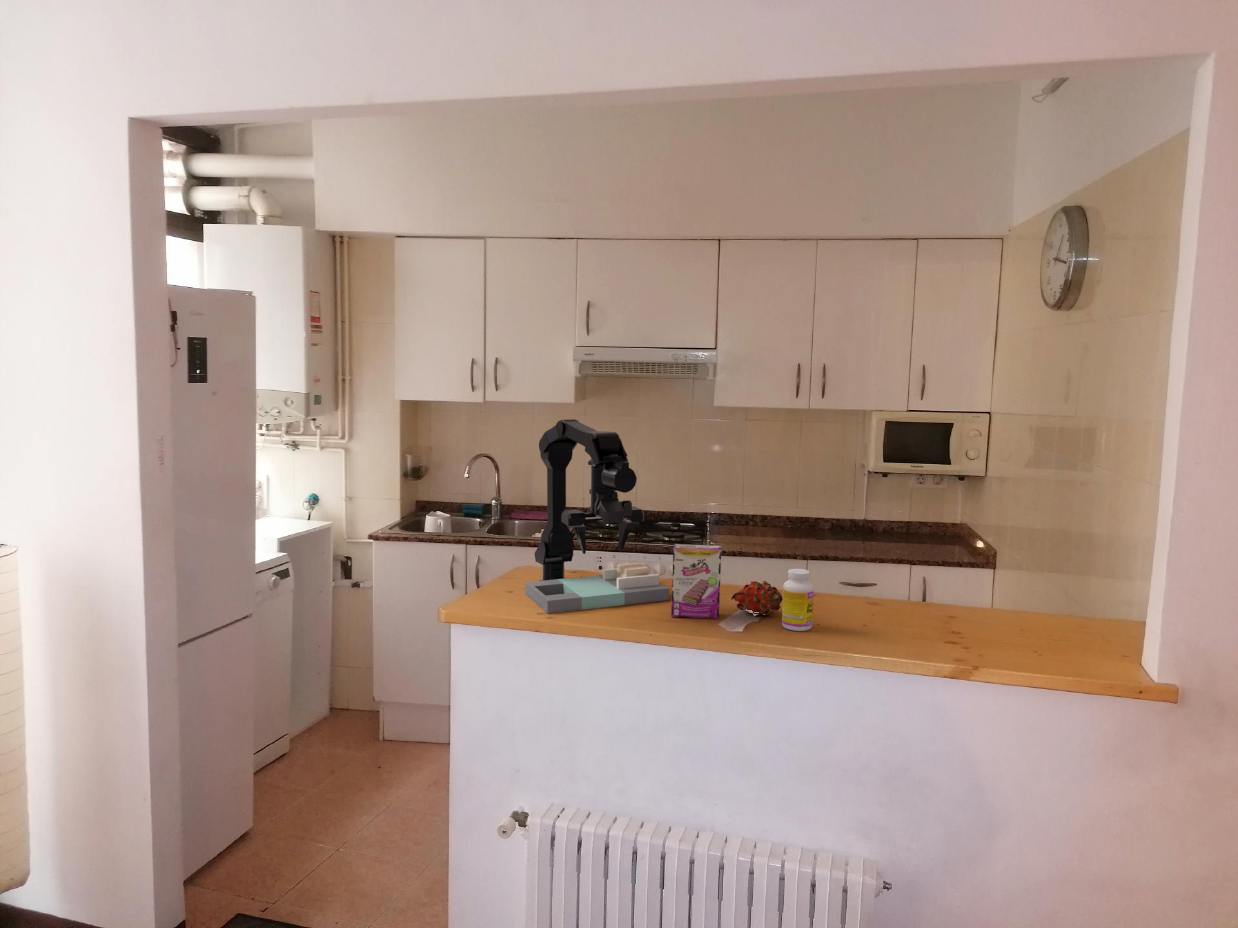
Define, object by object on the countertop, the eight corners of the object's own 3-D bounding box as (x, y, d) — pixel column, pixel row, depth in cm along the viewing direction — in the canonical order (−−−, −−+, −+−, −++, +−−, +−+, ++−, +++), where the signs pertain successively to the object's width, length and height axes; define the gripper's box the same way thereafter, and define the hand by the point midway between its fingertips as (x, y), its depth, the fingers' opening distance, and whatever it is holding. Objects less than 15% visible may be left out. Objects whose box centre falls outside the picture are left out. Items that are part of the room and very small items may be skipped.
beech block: (616, 579, 222) (617, 564, 221) (638, 577, 224) (638, 562, 223) (626, 585, 216) (626, 569, 216) (648, 583, 218) (648, 567, 218)
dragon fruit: (785, 624, 201) (734, 626, 204) (786, 595, 207) (736, 598, 211) (780, 600, 196) (727, 603, 199) (780, 572, 202) (729, 575, 205)
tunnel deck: (525, 593, 219) (525, 572, 218) (639, 582, 231) (639, 562, 230) (547, 613, 202) (547, 590, 202) (669, 599, 214) (669, 578, 214)
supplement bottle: (809, 633, 189) (811, 575, 188) (779, 629, 191) (781, 573, 190) (814, 624, 195) (816, 569, 194) (784, 621, 198) (786, 566, 196)
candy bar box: (671, 617, 200) (672, 548, 198) (671, 611, 205) (673, 543, 203) (720, 619, 199) (721, 549, 197) (719, 613, 203) (721, 544, 201)
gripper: (576, 493, 190) (575, 563, 192) (654, 489, 197) (652, 556, 199) (560, 486, 201) (560, 552, 203) (635, 482, 208) (634, 546, 210)
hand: (602, 552), depth 203 cm, fingers open, 9 cm apart
